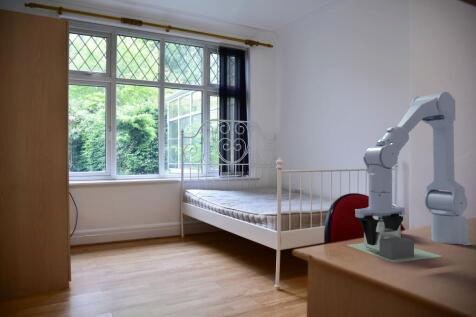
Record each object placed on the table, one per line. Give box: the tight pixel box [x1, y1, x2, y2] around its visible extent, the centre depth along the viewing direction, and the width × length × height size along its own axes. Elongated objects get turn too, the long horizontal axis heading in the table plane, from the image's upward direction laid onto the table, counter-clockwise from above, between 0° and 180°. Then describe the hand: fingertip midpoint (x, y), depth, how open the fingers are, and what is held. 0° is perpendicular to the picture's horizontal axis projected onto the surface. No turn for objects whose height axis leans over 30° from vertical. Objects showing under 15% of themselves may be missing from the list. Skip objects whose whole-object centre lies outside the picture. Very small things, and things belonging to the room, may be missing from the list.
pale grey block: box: [363, 227, 398, 251], centre depth 92 cm, size 6×6×5 cm
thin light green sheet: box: [346, 237, 443, 264], centre depth 93 cm, size 15×18×5 cm
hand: (380, 243), depth 92 cm, fingers closed on pale grey block, 6 cm apart
